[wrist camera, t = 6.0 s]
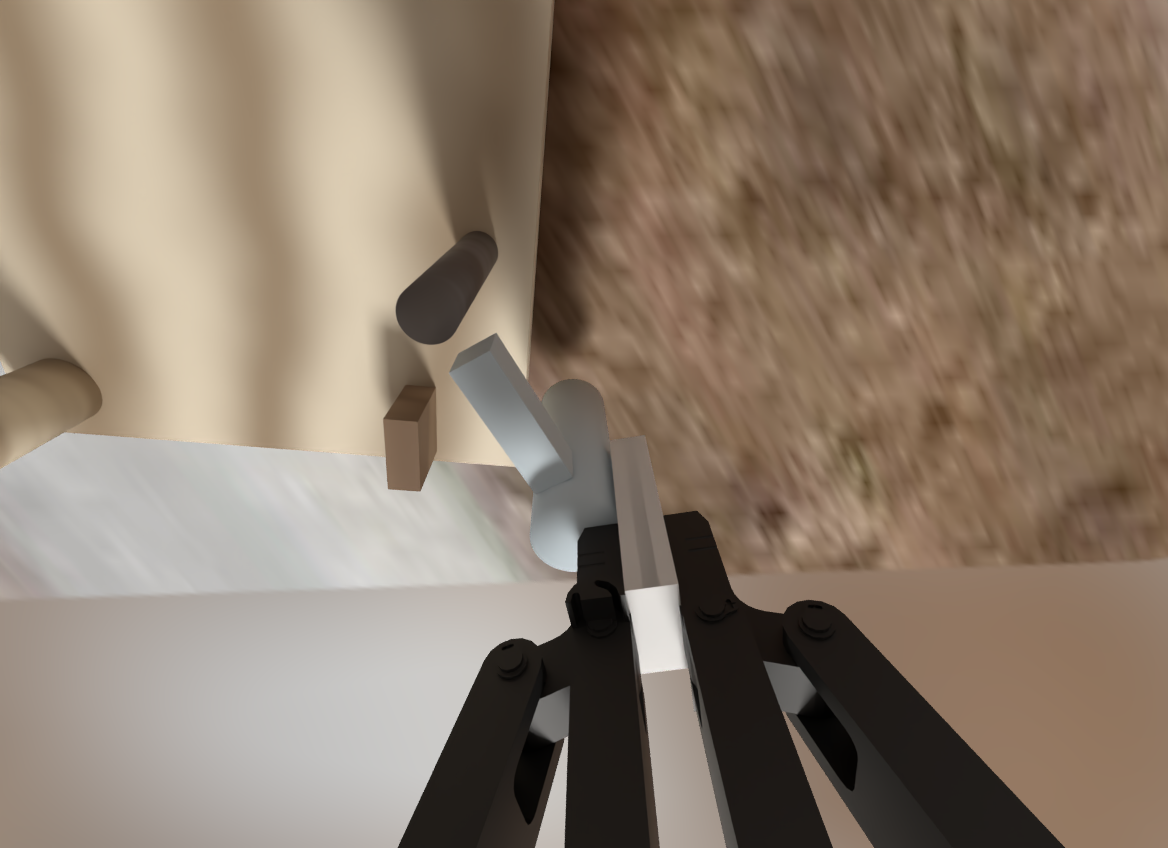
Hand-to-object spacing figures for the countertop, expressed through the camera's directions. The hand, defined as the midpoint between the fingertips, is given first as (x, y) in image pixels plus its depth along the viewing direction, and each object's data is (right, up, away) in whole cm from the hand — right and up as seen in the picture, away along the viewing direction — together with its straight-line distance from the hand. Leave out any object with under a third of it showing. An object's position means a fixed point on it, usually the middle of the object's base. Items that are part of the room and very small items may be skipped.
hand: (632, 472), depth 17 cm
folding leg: (-3, +4, +3) cm, 6 cm away
